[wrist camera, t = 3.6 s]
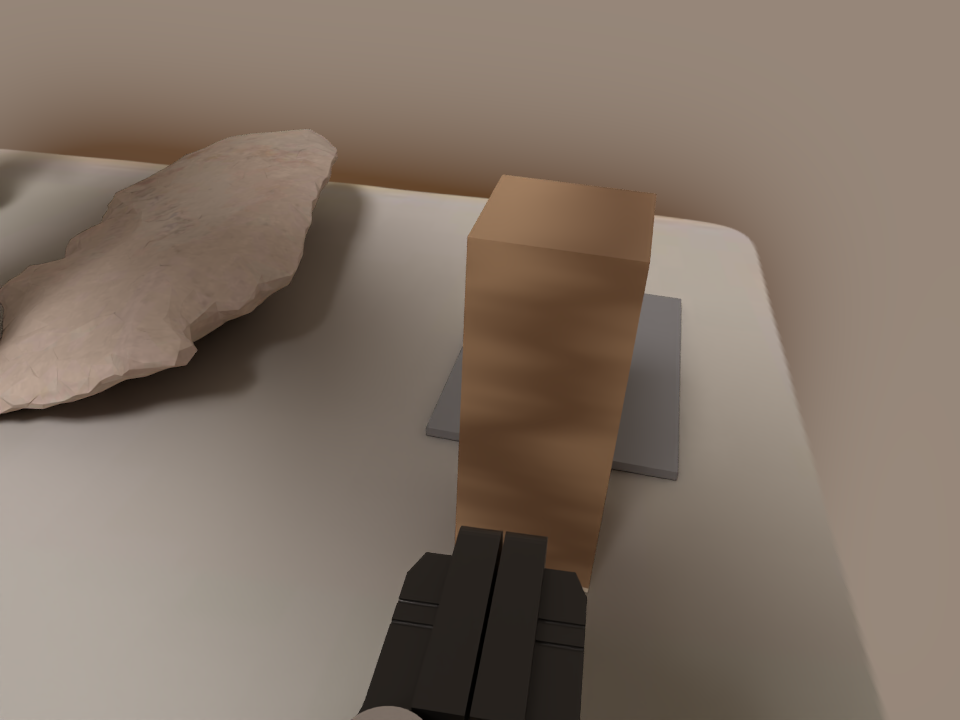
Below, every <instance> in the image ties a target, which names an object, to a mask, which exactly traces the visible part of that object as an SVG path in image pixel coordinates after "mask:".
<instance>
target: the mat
mask: <svg viewBox="0 0 960 720" xmlns="http://www.w3.org/2000/svg"><path fill="white" fill-rule="evenodd" d="M680 335H681V299H678V298H671V297H664V296H657V295H650V294H644V296H643V302H642V307H641V312H640V318H639V323H638V328H637V334H636V339H635V344H634V350H633V355H632V360H631V366H630V371H629V376H628V382H627V387H626V392H625V398H624V403H623V408H622V413H621V419H620V424H619V429H618V435H617V440H616V445H615V451H614V456H613V461H612V467H611V469H617V470H622V471H628V472H633V473H639V474H644V475H650V476H655V477H661V478H666V479H672V480H676V479H677V475H678V448H679V391H680ZM462 359H463V347H462V349H461V351H460V353H459V356H458V358H457V360H456V362H455V364H454V367H453V369H452V371H451V373H450V375H449V378H448V380H447V382H446V384H445V387H444V389H443V391H442V393H441V395H440V398H439V400H438V402H437V404H436V407H435V409H434V411H433V413H432V415H431V418H430V420H429V422H428V424H427V426H426V435H429V436H435V437H440V438H446V439H451V440H457V441H459V432H460V407H461V383H462Z"/></svg>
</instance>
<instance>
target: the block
mask: <svg viewBox="0 0 960 720" xmlns="http://www.w3.org/2000/svg"><path fill="white" fill-rule="evenodd" d="M655 203H656V194H653V193H645V192H637V191H629V190H621V189H613V188H605V187H597V186H589V185H581V184H573V183H565V182H557V181H549V180H542V179H533V178H525V177H518V176H510V175H502V177H501V178H500V180H499V182H498V184H497V186H496V187H495V189H494V191H493V193H492V194H491V196H490V198H489V200H488V202H487V203H486V205H485V207H484V209H483V210H482V212H481V214H480V216H479V218H478V219H477V221H476V223H475V225H474V226H473V228H472V230H471V232H470V234H469V235H468V237H467V262H466V286H465V310H464V334H463V359H462V383H461V407H460V432H459V456H458V480H457V504H456V529H455V544H456V540H457V536H458V533H459V529H460V527H461V526H469V527H477V528H484V529H492V530H499V531H503V543H504V538H505V533H506V531H508V532H516V533H524V534H531V535H539V536H546V537H548V543H547V554H546V565H545V568H547V569H555V570H562V571H569V572H576V574H577V576H578V579H579V581H580V583H581V586H582V588H583V590H584V592H587V593H588V589H589V584H590V578H591V573H592V568H593V562H594V557H595V552H596V546H597V541H598V536H599V531H600V525H601V520H602V515H603V509H604V504H605V499H606V493H607V488H608V483H609V477H610V472H611V467H612V461H613V456H614V451H615V445H616V440H617V435H618V429H619V424H620V419H621V413H622V408H623V403H624V398H625V392H626V387H627V382H628V376H629V371H630V366H631V360H632V355H633V350H634V344H635V339H636V334H637V328H638V323H639V318H640V312H641V307H642V302H643V296H644V291H645V286H646V280H647V275H648V270H649V264H650V256H651V245H652V235H653V224H654V213H655Z"/></svg>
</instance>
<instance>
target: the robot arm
mask: <svg viewBox="0 0 960 720" xmlns="http://www.w3.org/2000/svg"><path fill="white" fill-rule="evenodd" d="M547 543H548V537H546V536H539V535H531V534H524V533H516V532H508V531H506V533H505V538H504V543H503V531H499V530H492V529H484V528H477V527H469V526H461V527H460V529H459V533H458V536H457V540H456V544H455V547H454V551H453V555H452V556H451V555H444V554H437V553H430V552H426V553H425V554H424V555H423V556H422V558H421V559H420V560H419V561H418V562H417V563H416V564H415V565H414V566H413V567H412V568H411V569H410V570H409V571H408V572H407V575H406V578H405V581H404V584H403V587H402V590H401V593H400V596H399V601H398V603H397V605H396V608H395V611H394V614H393V617H392V622H391V624H390V626H389V629H388V632H387V635H386V638H385V641H384V644H383V647H382V650H381V653H380V656H379V659H378V662H377V665H376V668H375V671H374V674H373V677H372V680H371V683H370V686H369V689H368V692H367V695H366V698H365V701H364V703H363V706H362V708H361V709H360V711H359V713H358V714H357V716H355V717H354V718H352V719H351V720H580V710H581V692H582V675H583V658H584V640H585V623H586V606H587V597H586V595H585V592H584V590H583V588H582V586H581V583H580V581H579V579H578V576H577V574H576V572H569V571H562V570H555V569H547V568H545V565H546V554H547Z"/></svg>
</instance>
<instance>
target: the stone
mask: <svg viewBox="0 0 960 720" xmlns="http://www.w3.org/2000/svg"><path fill="white" fill-rule="evenodd" d="M336 160H337V149H336V148H335V147H333V145H332V144H331V143H330V142H329V141H328V140H327V139H326V138H324V137H323V136H321V135H320V134H318V133H316V132H314V131H312V130H310V129H305V130H304V129H303V130H288V131H281V132H271V133H255V134H246V135H240V136H232V137H229V138H226V139H223V140H220V141H218V142H216V143H213V144H211V145H210V146H208V147H206V148H204V149H201V150H198V151H195V152H193V153H190V154H187V155H185V156H183V157H182V158H180V159H179V160H177V161H176V162H175V163H173V164H171V165H170V166H168V167H166V168H165V169H163V170H161V171H159V172H157V173H156V174H154V175H152V176H150V177H148V178H146V179H144V180H142V181H140V182H138V183H136V184H134V185H132V186H130V187H128V188H125V189H123V190H121V191H119V192H116V194H115V196H114V198H113V200H112V201H111V202H110V203H109V204H108V210H107V212H106V213H105V214H104V216H103V217H102V218H103V219H102V222H101V223H100V224H98V225H95V226H93V227H91V228H89V229H87V230H85V231H83V232H81V233H79V234H78V235H76V236H75V237H74V238H72V239H71V240H70V241H69V243H68V245H67V247H66V252H65V258H63V259H60V260H56V261H52V262H48V263H44V264H37V265H31V266H29V267H28V268H26V269H25V270H24V271H23V272H22V273H21V274H19V275H18V276H16V277H14V278H13V279H11V280H9V281H8V282H7V283H6V284H5V285H4V286H3V287H2V288H1V289H0V303H1V305H2V307H3V308H4V315H3V335H2V338H1V340H0V414H2V413H7V412H11V411H16V410H20V409H23V408H33V409H45V408H48V407H51V406H55V405H58V404H61V403H67V402H73V401H76V400H79V399H82V398H85V397H88V396H92V395H95V394H97V393H100V392H102V391H104V390H106V389H108V388H110V387H112V386H114V385H116V384H118V383H120V382H122V381H124V380H127V379H133V378H139V377H146V376H149V375H151V374H154V373H156V372H159V371H162V370H164V369H167V368H172V367H178V366H184V365H187V363H188V362H189V361H190V359H191V358H192V357H193V355H194V354H195V353H196V352H197V349H196V347H195V346H194V344H193V342H195V341H196V340H198V339H200V338H202V337H204V336H205V335H207V334H209V333H210V332H212V331H214V330H215V329H216V328H218V327H220V326H221V325H223V324H224V323H225V322H226V321H229V320H232V319H235V318H238V317H240V316H243V315H245V314H248V313H250V312H252V311H253V310H254V309H255V308H256V307H257V306H258V305H260V304H262V302H263V301H264V300H265V299H266V298H267V297H268V296H270V295H271V294H273V293H275V292H276V291H278V290H280V289H282V288H284V287H285V286H287V285H289V284H290V282H291V280H292V278H293V276H294V274H295V272H296V270H297V267H298V265H299V263H300V260H301V258H302V256H303V248H304V241H305V237H306V235H307V232H308V230H309V228H310V225H311V221H312V215H311V213H312V211H313V210H314V208H315V206H316V203H317V201H318V198H319V194H320V192H321V190H322V189H323V188H324V187H325V186H326V184H327V183H328V181H329V179H330V176H331V168H332V165H333V164H334V163H335V161H336Z"/></svg>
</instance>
